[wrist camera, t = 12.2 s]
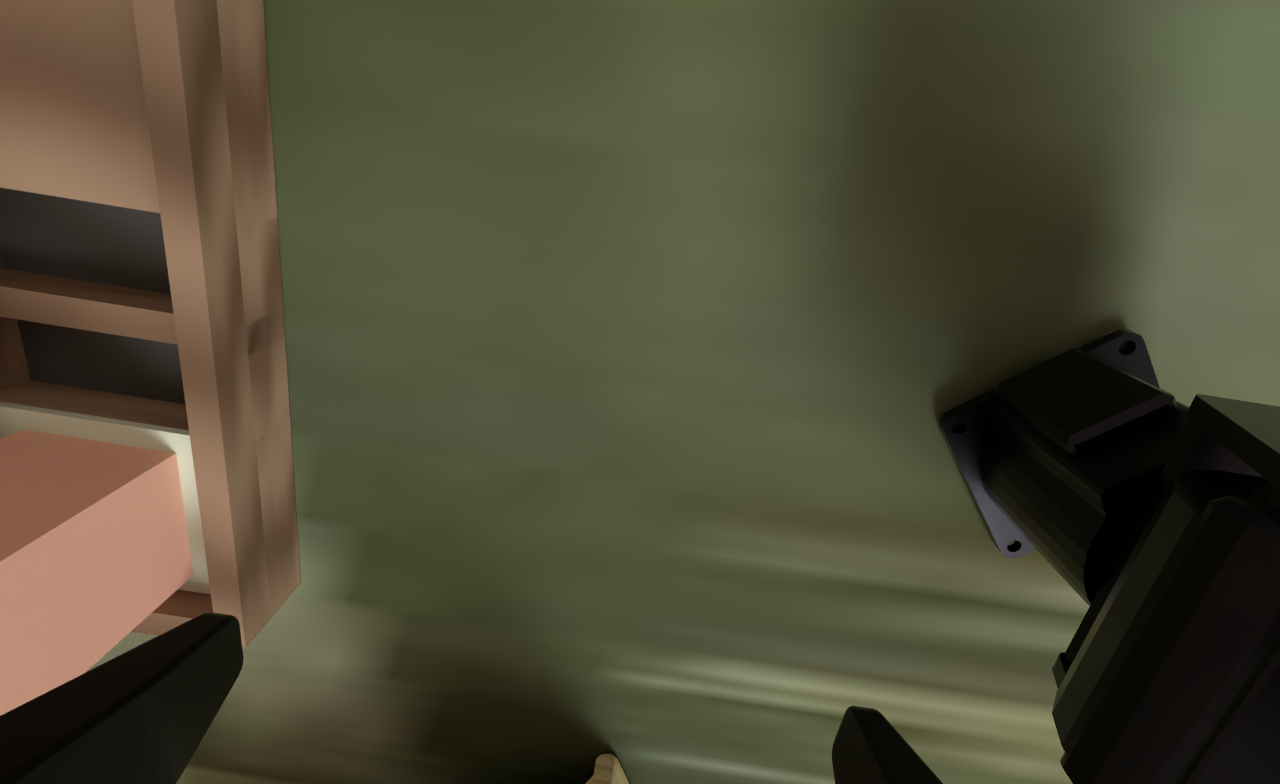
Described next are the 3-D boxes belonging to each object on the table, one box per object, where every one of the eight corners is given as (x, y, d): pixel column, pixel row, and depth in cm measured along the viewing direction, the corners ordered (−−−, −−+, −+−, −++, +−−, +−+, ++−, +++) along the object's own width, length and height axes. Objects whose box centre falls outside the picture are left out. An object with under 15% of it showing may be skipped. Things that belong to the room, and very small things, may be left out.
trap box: (-110, -125, 17) (-300, -192, 13) (259, -61, 17) (161, -112, 14) (53, 545, 25) (-41, 605, 21) (300, 582, 25) (245, 648, 22)
